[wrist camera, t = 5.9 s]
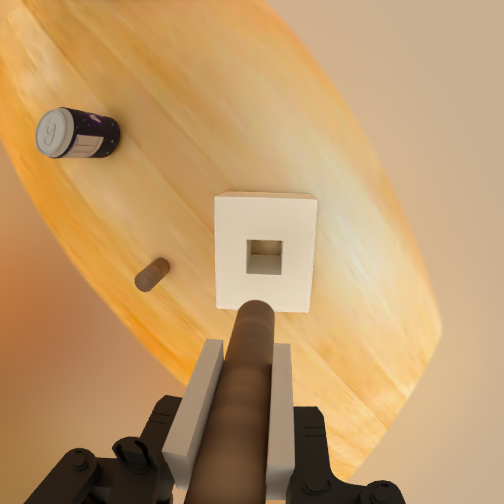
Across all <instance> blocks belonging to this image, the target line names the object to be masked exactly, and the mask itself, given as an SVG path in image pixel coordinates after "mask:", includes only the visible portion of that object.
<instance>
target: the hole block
mask: <svg viewBox="0 0 504 504" xmlns="http://www.w3.org/2000/svg"><path fill="white" fill-rule="evenodd" d="M317 203H318V200H317V199H316V198H315V197H313V196H312V195H310V194H300V193H276V192H231V191H226V192H224V193H222V194H219V195H217V196H215V197H214V222H215V275H216V306H217V308H219V309H234V310H239V308H240V307H241V306H242V305H243V304H244V303H245V302H247V301H250V300H261V301H264V302H266V303H267V304H269V305H270V306H271V308H272V309H273V311H274V312H306V313H309V306H310V296H311V286H312V275H313V264H314V251H315V237H316V222H317ZM252 240H274V241H281V256H280V255H254V254H252Z"/></svg>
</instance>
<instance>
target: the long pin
mask: <svg viewBox="0 0 504 504" xmlns="http://www.w3.org/2000/svg"><path fill="white" fill-rule="evenodd" d="M274 318H275V316H274V311H273V309H272V308H271V306H270V305H269V304H267V303H266V302H264V301H261V300H250V301H247V302H245V303H244V304H243V305H242V306H241V307H240V308H239V310H238V313H237V317H236V321H235V324H234V328H233V331H232V335H231V338H230V342H229V345H228V349H227V353H226V356H225V360H224V364H223V367H222V371H221V374H220V378H219V381H218V385H217V388H216V392H215V396H214V399H213V403H212V406H211V410H210V413H209V417H208V420H207V424H206V427H205V431H204V434H203V438H202V442H201V445H200V449H199V452H198V456H197V459H196V463H195V466H194V470H193V473H192V476H191V480H190V483H189V487H188V490H187V494H186V497H185V501H184V504H265V502H266V489H267V486H266V484H265V481H266V466H267V451H268V435H269V417H270V398H271V377H272V359H273V344H274Z"/></svg>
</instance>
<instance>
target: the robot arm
mask: <svg viewBox="0 0 504 504" xmlns="http://www.w3.org/2000/svg"><path fill="white" fill-rule="evenodd" d="M223 364H224V355H223V340H216V339H206V342H205V344H204V347H203V349H202V352H201V354H200V357H199V359H198V361H197V364H196V366H195V369H194V371H193V374H192V376H191V379H190V381H189V384H188V386H187V389H186V391H185V394H184V396H183V398H181V397H175V396H169V395H165V396H164V397H163V398H161V399H160V400H159V401H158V402H157V403H156V405H155V407H154V409H153V411H152V414H151V415H150V417H149V421H147V423H146V426H145V428H144V430H143V432H142V434H141V436H140V438H138V437H125V438H122V439H120V440H118V441H117V442H116V443H115V444H114V445H113V447H112V450H113V451H114V453H115V455H116V456H117V458H97V457H95V456H94V454H93V453H92V452H90V451H89V450H87V449H83V448H76V449H73V450H70V451H69V452H67V453H66V454H65V455H64V456H63V458H62V459H61V460H60V461H59V462H58V463H57V465H56V466H55V467H54V468H53V469H52V471H51V472H50V473H49V474H48V475H47V476H46V478H45V479H44V480H43V481H42V482H41V484H40V485H39V486H38V487H37V488H36V489H35V491H34V492H33V493H32V494H31V496H30V497H29V498H28V499H27V500H26V501H25V503H24V504H173V494H172V489H173V486H174V483H175V485H176V488H178V489H182V490H188V487H189V483H190V480H191V476H192V473H193V470H194V466H195V463H196V459H197V456H198V452H199V449H200V445H201V442H202V438H203V434H204V431H205V427H206V424H207V420H208V417H209V413H210V410H211V406H212V403H213V399H214V396H215V392H216V388H217V385H218V381H219V378H220V374H221V371H222V367H223ZM265 484H266V486H267V489H266V500H285V499H286V504H406V503H405V501H404V498H403V496H402V494H401V491H400V490H399V488H398V487H397V486H396V485H395V484H393V483H392V482H390V481H385V480H381V481H374V482H372V483H370V484H368V485H367V486H361V485H354V484H348V483H345V482H343V481H341V480H339V479H337V478H336V477H335V476H334V474H333V473H332V471H331V468H330V462H329V453H328V445H327V438H326V430H325V423H324V416H323V414H322V413H321V412H320V410H319V409H318V407H317V406H315V407H293V388H292V367H291V348H290V344H281V343H274V344H273V359H272V377H271V398H270V417H269V435H268V451H267V466H266V481H265Z"/></svg>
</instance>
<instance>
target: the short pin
mask: <svg viewBox="0 0 504 504" xmlns="http://www.w3.org/2000/svg"><path fill="white" fill-rule="evenodd" d="M169 270H170V265H169V263H168V261H167V260H165V259H163V258H158V259H156V260H155V261H154V262H152V263H151V264H150V265H149V266H147V267H146V268H145V269H144V270H142V271H141V272H140V273H139V274H137V275H136V277H135V285H136V287H137V288H138V289H139V290H140V291H142V292H148V291H150V290H151V289H152V288H153V287H154V286H155V285H156V284H157V283H158V282H159V281H160V280H161V279H162V278H163V277H164V276H165V275H166V274H167V273H168V272H169Z"/></svg>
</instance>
